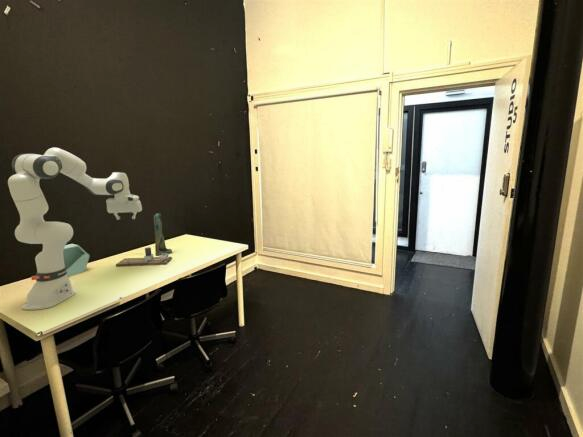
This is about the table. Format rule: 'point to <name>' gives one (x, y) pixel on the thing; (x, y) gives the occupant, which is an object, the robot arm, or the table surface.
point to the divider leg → (148, 254)
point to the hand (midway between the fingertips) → (126, 219)
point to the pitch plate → (159, 260)
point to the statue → (159, 237)
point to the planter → (75, 259)
